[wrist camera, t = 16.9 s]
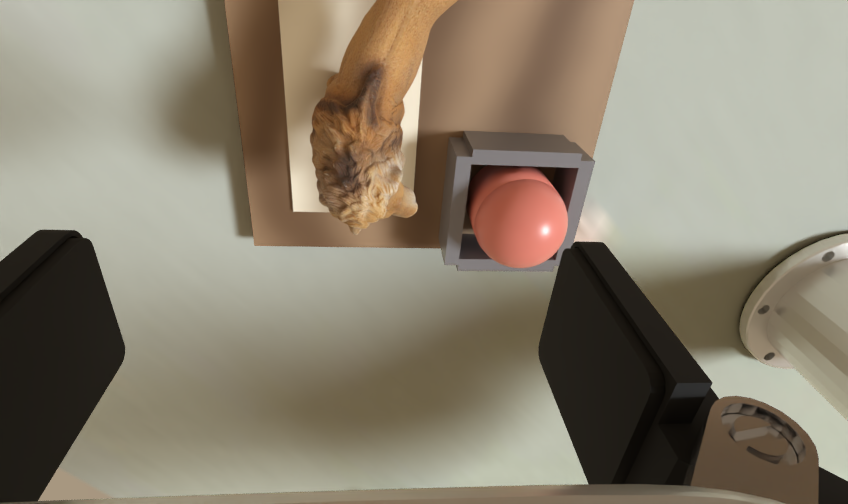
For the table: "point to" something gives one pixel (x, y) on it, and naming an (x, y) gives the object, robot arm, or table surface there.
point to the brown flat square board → (413, 99)
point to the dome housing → (510, 152)
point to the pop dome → (516, 215)
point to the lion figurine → (371, 114)
